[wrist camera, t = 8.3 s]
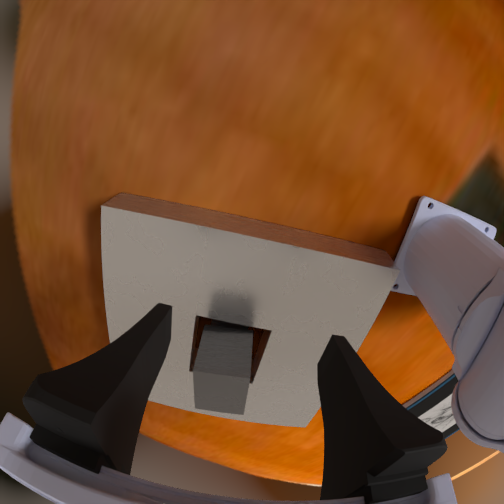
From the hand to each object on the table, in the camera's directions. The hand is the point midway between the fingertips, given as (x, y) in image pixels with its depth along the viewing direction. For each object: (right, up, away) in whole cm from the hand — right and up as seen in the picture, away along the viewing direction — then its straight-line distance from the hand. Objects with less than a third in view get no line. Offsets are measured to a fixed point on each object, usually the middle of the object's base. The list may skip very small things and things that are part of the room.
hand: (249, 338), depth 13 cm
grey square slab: (-2, -3, +12) cm, 12 cm away
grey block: (-2, -2, +12) cm, 12 cm away
